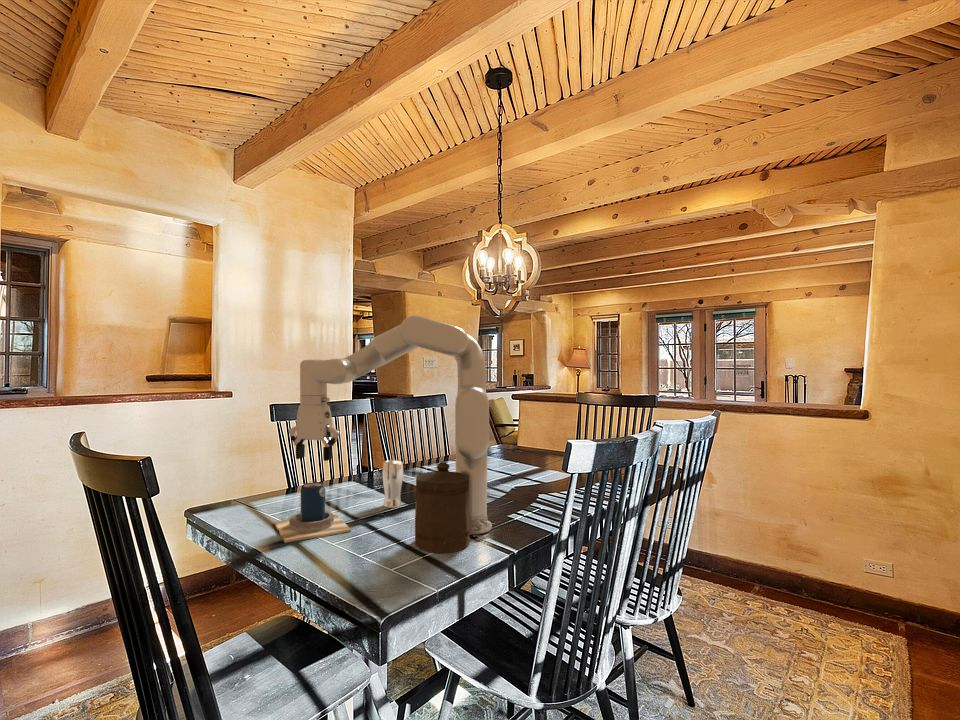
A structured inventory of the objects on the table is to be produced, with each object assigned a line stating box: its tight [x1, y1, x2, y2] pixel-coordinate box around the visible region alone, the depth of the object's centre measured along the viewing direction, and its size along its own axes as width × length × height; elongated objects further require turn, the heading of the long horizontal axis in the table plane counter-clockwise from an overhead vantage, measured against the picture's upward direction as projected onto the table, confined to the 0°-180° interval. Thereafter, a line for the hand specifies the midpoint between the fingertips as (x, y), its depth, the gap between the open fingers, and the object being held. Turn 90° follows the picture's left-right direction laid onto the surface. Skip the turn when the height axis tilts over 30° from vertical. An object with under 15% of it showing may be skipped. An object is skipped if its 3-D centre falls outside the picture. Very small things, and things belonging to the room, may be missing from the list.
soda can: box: [299, 481, 326, 522], centre depth 146 cm, size 7×7×12 cm
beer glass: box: [382, 459, 404, 509], centre depth 169 cm, size 7×7×15 cm
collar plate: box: [273, 510, 352, 544], centre depth 146 cm, size 18×18×3 cm
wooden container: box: [414, 461, 471, 554], centre depth 135 cm, size 15×15×22 cm
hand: (313, 459), depth 146 cm, fingers open, 9 cm apart
